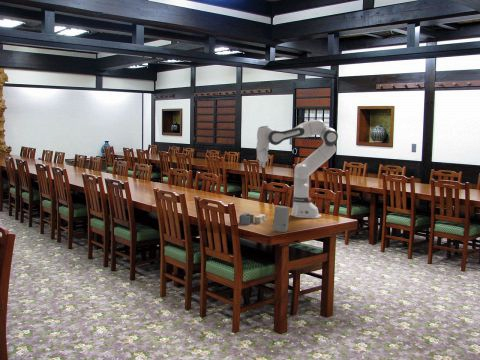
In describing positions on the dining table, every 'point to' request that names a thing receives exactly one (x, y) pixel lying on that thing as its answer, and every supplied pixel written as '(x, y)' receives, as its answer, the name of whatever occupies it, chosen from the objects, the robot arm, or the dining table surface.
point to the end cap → (246, 218)
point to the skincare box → (281, 219)
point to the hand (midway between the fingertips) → (262, 166)
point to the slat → (260, 218)
